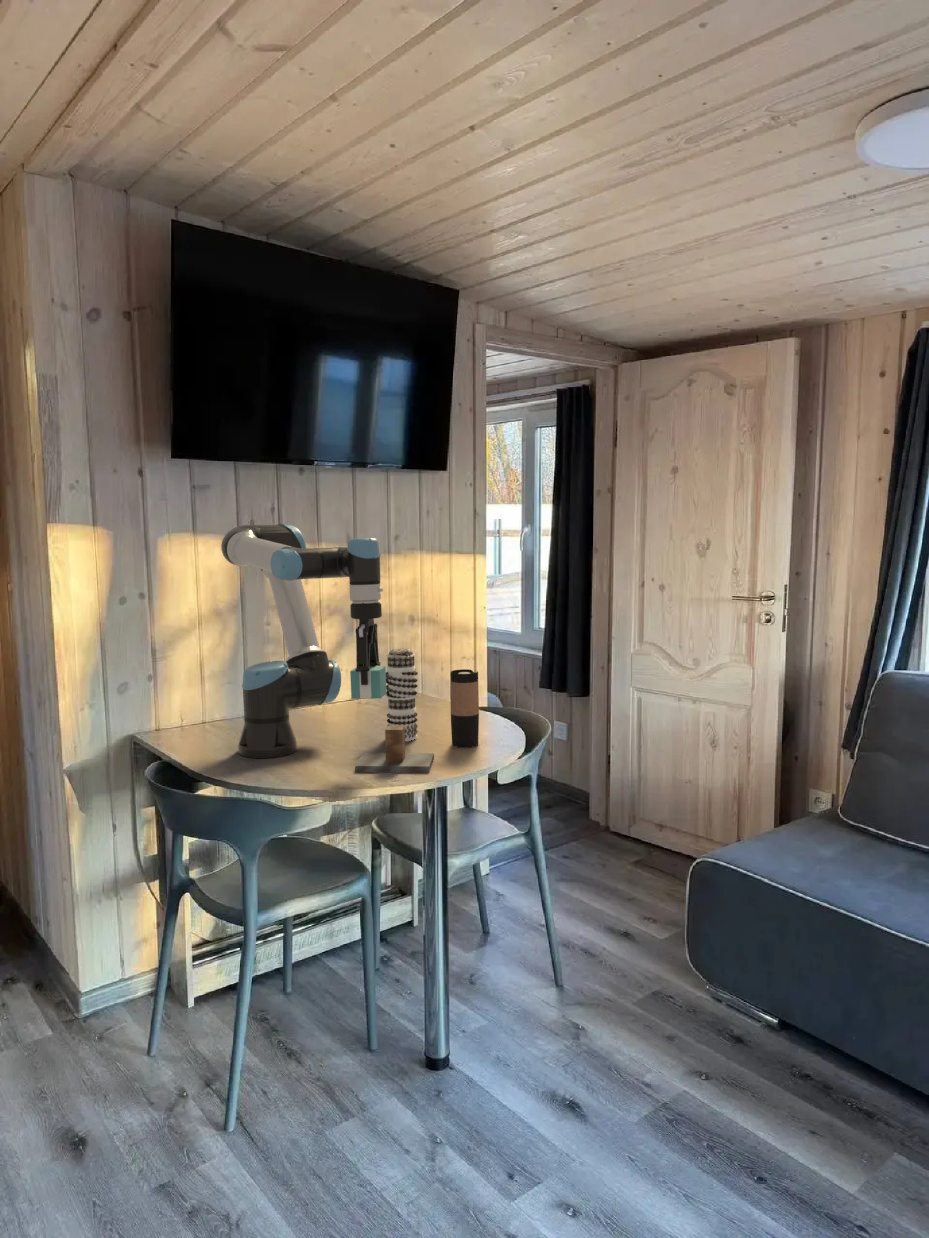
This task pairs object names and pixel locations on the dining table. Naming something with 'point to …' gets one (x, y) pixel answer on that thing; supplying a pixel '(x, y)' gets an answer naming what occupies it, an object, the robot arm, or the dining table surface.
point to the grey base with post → (395, 756)
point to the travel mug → (464, 708)
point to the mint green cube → (376, 682)
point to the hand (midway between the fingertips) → (369, 695)
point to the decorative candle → (402, 691)
